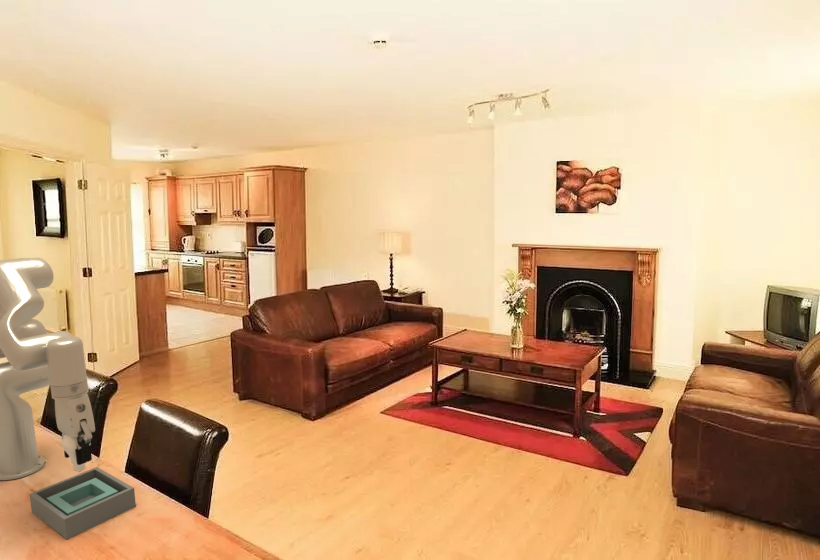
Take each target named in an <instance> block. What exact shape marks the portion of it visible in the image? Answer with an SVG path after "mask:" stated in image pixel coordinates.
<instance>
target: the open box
mask: <svg viewBox="0 0 820 560" xmlns="http://www.w3.org/2000/svg"><path fill="white" fill-rule="evenodd" d="M28 495H29V503H30V509H31V513H32V514H33V515H34V516H36V517H37V518H38V519H39V520H41V521H42V522H43V523H45V524H46V525H47V526H49V527H50V528H51V529H53V531H55V532H56V533H58V534H59V535H60V536H61V537H62V538H64V540H70V539H72V538H73V537H75V536H77V535H80V534H81V533H84V532H86V531H89V530H90V529H92V528H94V527H97V526H98V525H100V524H103V523H105V522H106V521H108V520H111V519H113V518H114V517H117V516H119V515H121V514H123V513H125V512H128V511H129V510H131V509H133V508H136V507H137V502H136V495H135V487H133V486H131V485H129V484H128V483H126V482H124V481H123V480H121V479H119V478H118V477H115V476H114V475H112V474H110V473H108V472H107V471H105V470H103V469H102V468H100V467H98V466H96V467H93V468H90V469H88V470H86V471H82V472H79V473H78V474H75V475H73V476H71V477H68V478H65V479H63V480H60V481H59V482H55V483H53V484H50V485H48V486H46V487H43V488H40V489H38V490H35V491H33V492H31V493H29V494H28Z"/></svg>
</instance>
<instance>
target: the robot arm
mask: <svg viewBox="0 0 820 560" xmlns="http://www.w3.org/2000/svg"><path fill="white" fill-rule="evenodd" d="M54 277H55V276H54V272H53V268H52V267H51V265H50V264H49V262H48V261H46V260H45V259H43V258H40V257H24V258H22V257H21V258H10V259H0V359H3V358H4V359H5V358H6V359H7V361H6V362H2V363H0V481H10V480H16V479H20V478H23V477H27V476H30V475H32V474H34V473H36V472H38V471H40V470H41V469H42V468H44V466H45V465H46V458H45V457H44V456H41V455H39V454H38V452H39V451H38V447H37V446H38V445H37V439H36V429H35V423H34V421H35V420H34V413H33V408H32V405H31V404H30V403H29V402H28V401H26V400H25V399H23V398H21V396H20V395H22V394H26V393H28V392H32V391H35V390H38V389H42V388H46V387H49V386H50V394H51V399H53V400H54V414H55V421H56V427H57V429H58V431H60V434H61V440H62V439H63V437H64V435H65V434H66V435H68V436H70V437H73V438H74V440H75V443H76V447H77V449H75V452H76V460H77V464H78V465H81V464H83V463H85V464H86V463H88V462H91V461H92V460H93V457H92V450H91V449H92V448H91V446H92V443H91V441H92V439H93V435H92V434H93V433H94V432H95V431H96V427H95V426H96V425H95V424H96V423H95V419H94V414H93V409H92V404H91V401H90V397H89V394H88V393H89V385H88V384H89V383H88V377H87V367H86V359H85V352H84V351H85V350H84V342H83V340H82V339H81V338H80V337H77V336H74V335H73V334H72V333H70V332H68V331H66V330H60V331H54V332H49V333H48V332H47V329H46V328H45V327H46V326H44V324H43V322H41V321H40V320H38V319H34V318H35V317H36V316H38V315H39V314H40V313H41V312H42V311H43V309H44V307H45V300H44V298H43V296H42V295H41V294H40V292H39V289H46V288H49V287H50V286H51V285H52V284H53V282H54ZM80 432H82V433H83V434H82V435H78V433H80ZM81 437H84V438H83V440H81V442H80V441H79V438H81ZM63 453H64V454H63V455H64V458H66V459H69V458H70V457H69V455H68V454H67V453H66V452H65V451H64V450H63Z"/></svg>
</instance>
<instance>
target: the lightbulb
mask: <svg viewBox="0 0 820 560" xmlns="http://www.w3.org/2000/svg"><path fill="white" fill-rule="evenodd" d="M82 434H83V433H82V432H80V433H78V435H82ZM83 438H84V437H81V438H79V441H80V442H81V440H83ZM61 447H62V449H63V452H64V451H65V452H66V453H67V454H68V455H69V457H68V458H69V460H70V462H71V464H72V468H73V471H74V472H77V473H82V472H83V471H84V470H85V469H86V463H83V464H81V465H78V464H77V460H76V452H75V449H77V447H76V443H75V440H74V438H73V437H70V436H68V435H66V434H65V435H64V437H63V439H62V438H61Z"/></svg>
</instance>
